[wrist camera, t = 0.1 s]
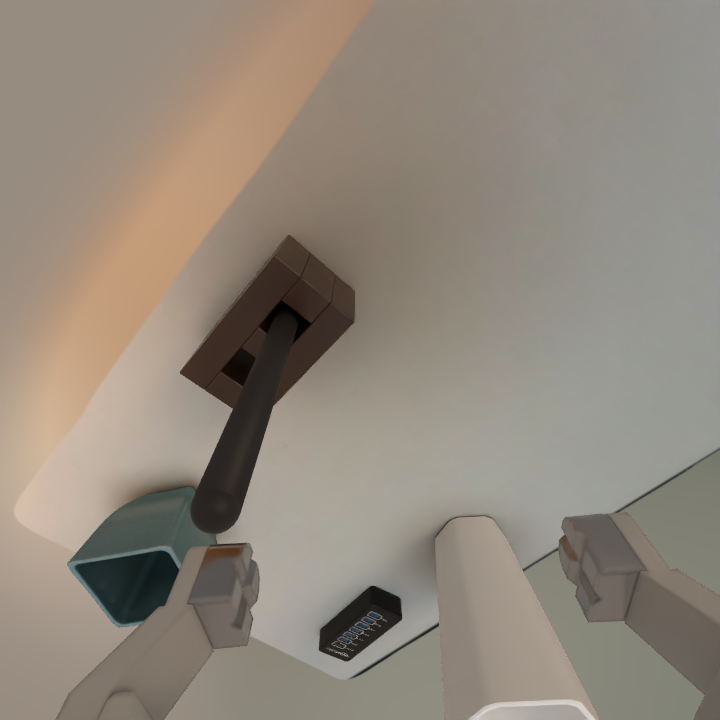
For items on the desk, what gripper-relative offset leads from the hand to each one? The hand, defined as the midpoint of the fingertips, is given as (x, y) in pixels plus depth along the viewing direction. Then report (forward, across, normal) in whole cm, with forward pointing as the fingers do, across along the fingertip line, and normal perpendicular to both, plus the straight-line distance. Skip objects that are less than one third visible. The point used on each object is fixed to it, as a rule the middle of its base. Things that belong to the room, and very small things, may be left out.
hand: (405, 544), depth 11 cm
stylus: (+24, +6, +1) cm, 24 cm away
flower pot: (+24, +21, +22) cm, 39 cm away
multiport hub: (+24, +5, +42) cm, 48 cm away
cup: (+24, -8, +30) cm, 39 cm away
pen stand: (+24, +8, +2) cm, 25 cm away
